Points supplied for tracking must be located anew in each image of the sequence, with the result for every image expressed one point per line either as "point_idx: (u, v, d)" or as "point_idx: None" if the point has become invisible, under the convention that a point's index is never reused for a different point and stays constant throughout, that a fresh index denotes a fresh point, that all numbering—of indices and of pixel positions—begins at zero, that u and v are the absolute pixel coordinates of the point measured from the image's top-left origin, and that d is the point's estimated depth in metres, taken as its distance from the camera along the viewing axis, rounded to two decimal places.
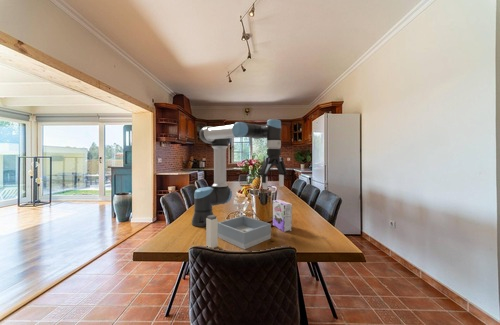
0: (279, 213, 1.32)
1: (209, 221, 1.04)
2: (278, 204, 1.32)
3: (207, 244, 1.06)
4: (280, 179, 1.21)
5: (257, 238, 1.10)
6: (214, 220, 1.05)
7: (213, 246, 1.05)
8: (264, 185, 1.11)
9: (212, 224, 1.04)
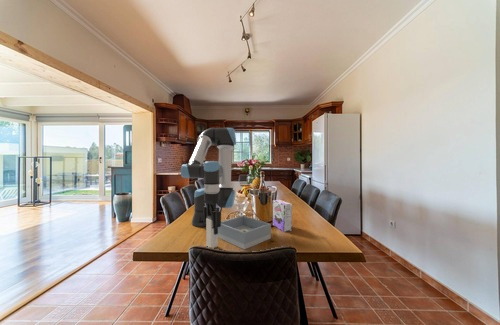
0: (279, 213, 1.32)
1: (209, 221, 1.04)
2: (278, 204, 1.32)
3: (207, 244, 1.06)
4: None
5: (257, 238, 1.10)
6: None
7: (213, 246, 1.05)
8: None
9: (212, 224, 1.04)
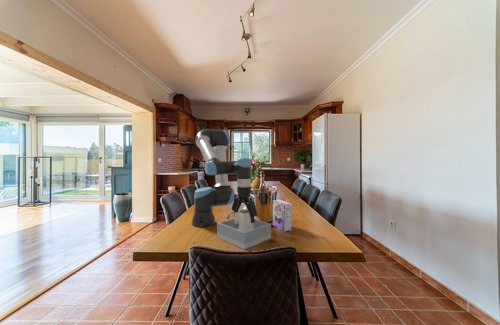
0: (279, 213, 1.32)
1: (242, 215, 1.16)
2: (278, 204, 1.32)
3: None
4: None
5: (257, 238, 1.10)
6: (246, 214, 1.16)
7: None
8: None
9: (245, 217, 1.15)
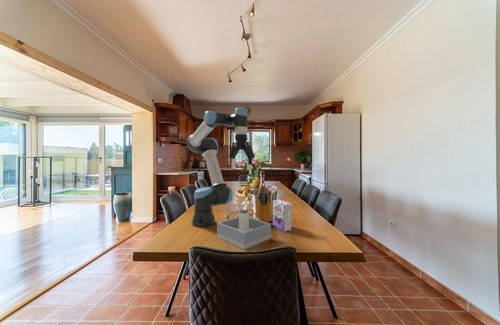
0: (279, 213, 1.32)
1: (242, 215, 1.16)
2: (278, 204, 1.32)
3: None
4: None
5: (257, 238, 1.10)
6: (246, 214, 1.16)
7: None
8: None
9: (244, 217, 1.16)
